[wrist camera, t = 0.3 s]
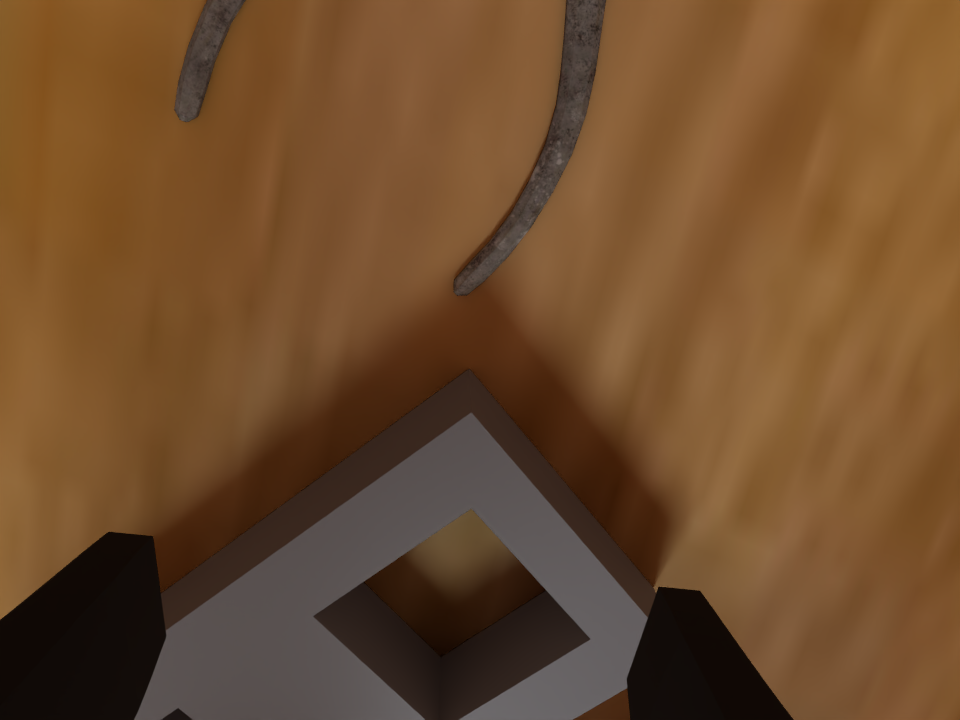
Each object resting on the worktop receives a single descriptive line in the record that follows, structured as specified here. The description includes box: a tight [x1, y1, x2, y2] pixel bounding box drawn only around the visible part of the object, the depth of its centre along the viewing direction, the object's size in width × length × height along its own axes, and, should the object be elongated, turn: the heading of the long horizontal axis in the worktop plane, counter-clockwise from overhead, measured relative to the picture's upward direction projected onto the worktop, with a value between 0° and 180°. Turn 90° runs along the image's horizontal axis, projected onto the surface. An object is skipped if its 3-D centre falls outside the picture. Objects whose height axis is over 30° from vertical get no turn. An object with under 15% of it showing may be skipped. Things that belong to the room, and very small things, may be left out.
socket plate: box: [134, 369, 656, 720], centre depth 22 cm, size 18×10×3 cm, turn 128°
